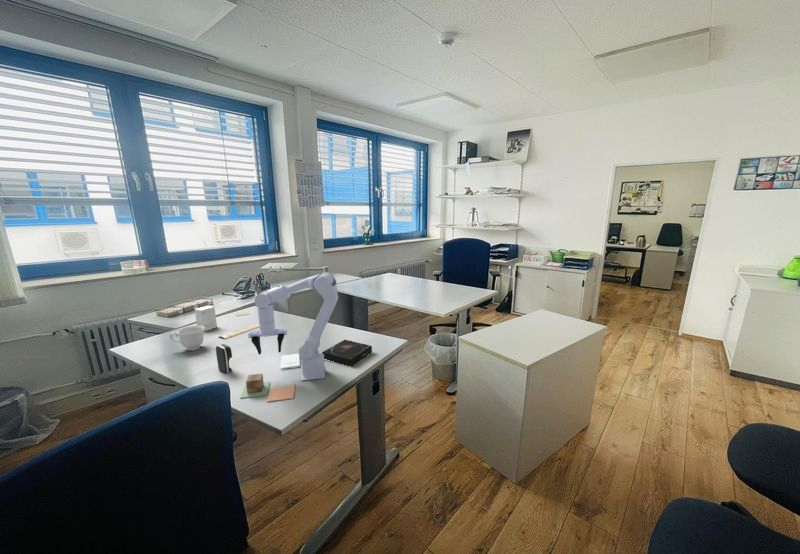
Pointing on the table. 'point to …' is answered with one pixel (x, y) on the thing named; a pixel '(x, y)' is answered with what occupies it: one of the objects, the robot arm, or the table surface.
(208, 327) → the small box
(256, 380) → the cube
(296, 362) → the external hard drive
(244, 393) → the mat
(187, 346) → the teacup
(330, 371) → the table surface
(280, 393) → the mat
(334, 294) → the robot arm
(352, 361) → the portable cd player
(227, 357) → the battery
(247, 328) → the wooden plank
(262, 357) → the table surface
